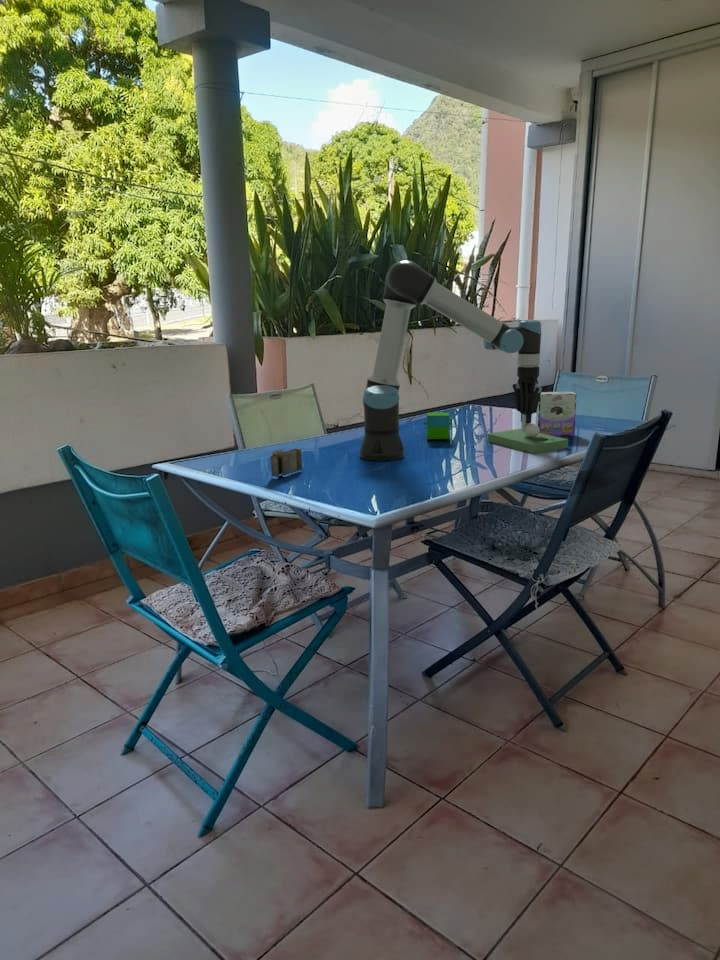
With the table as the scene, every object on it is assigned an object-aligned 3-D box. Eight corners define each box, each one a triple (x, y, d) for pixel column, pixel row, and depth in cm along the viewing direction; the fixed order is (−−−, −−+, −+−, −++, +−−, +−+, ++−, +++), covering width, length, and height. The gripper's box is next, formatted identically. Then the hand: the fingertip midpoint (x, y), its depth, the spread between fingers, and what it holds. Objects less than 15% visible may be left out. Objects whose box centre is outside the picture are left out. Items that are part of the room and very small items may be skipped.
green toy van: (450, 434, 260) (450, 409, 258) (451, 442, 248) (452, 415, 245) (424, 434, 261) (424, 409, 258) (424, 442, 248) (424, 415, 246)
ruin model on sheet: (279, 481, 201) (277, 450, 199) (272, 480, 203) (270, 449, 200) (303, 473, 210) (302, 443, 208) (296, 471, 212) (294, 442, 209)
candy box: (571, 433, 257) (573, 391, 252) (574, 436, 251) (577, 393, 247) (534, 433, 258) (536, 391, 254) (537, 436, 252) (539, 393, 248)
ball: (523, 422, 236) (520, 435, 238) (533, 428, 232) (530, 440, 235) (533, 420, 238) (530, 432, 241) (543, 426, 235) (540, 438, 237)
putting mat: (534, 453, 226) (534, 445, 225) (487, 441, 246) (487, 433, 245) (567, 447, 234) (568, 439, 233) (519, 436, 254) (520, 428, 253)
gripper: (550, 366, 230) (546, 433, 236) (523, 363, 240) (520, 427, 247) (534, 368, 226) (530, 436, 232) (507, 365, 237) (505, 430, 243)
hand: (525, 431), depth 240 cm, fingers closed
